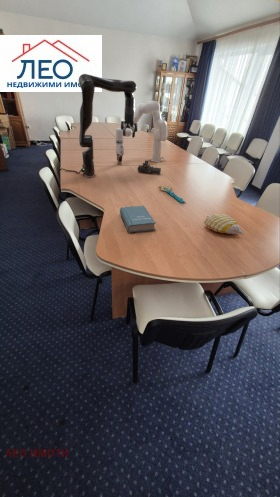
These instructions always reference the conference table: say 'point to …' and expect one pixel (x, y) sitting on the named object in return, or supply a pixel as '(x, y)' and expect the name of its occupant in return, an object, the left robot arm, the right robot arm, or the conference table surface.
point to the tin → (118, 160)
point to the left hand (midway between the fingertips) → (128, 136)
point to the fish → (223, 224)
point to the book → (137, 219)
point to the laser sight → (148, 168)
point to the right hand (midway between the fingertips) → (119, 160)
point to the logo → (171, 193)
